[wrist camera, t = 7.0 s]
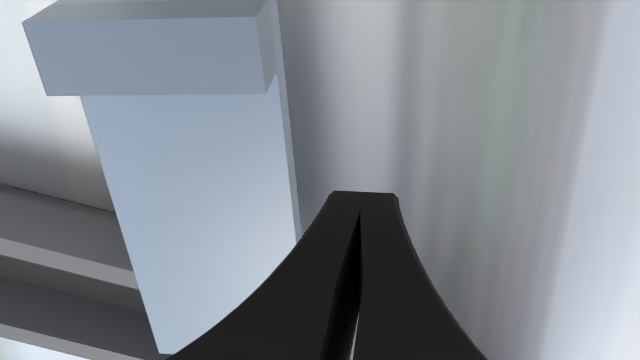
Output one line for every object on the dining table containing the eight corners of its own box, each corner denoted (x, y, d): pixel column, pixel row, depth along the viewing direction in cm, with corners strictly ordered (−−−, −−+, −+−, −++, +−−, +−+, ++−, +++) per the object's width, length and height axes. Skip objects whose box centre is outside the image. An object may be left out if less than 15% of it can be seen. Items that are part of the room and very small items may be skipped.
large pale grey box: (291, 258, 26) (278, 308, 23) (267, 348, 29) (254, 400, 27) (-72, 165, 26) (-124, 206, 23) (-53, 267, 29) (-97, 312, 26)
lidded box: (317, 381, 25) (308, 435, 23) (178, 373, 26) (159, 424, 24) (275, -13, 16) (256, 16, 14) (69, -7, 17) (21, 22, 15)
